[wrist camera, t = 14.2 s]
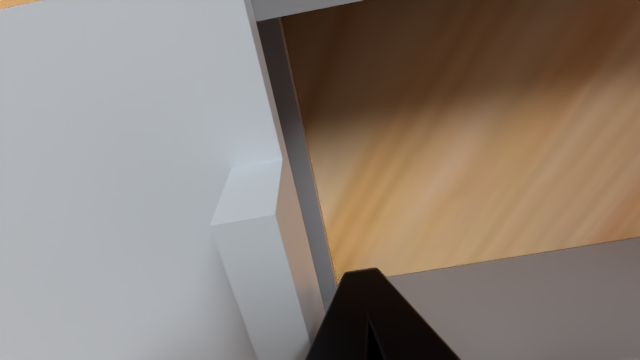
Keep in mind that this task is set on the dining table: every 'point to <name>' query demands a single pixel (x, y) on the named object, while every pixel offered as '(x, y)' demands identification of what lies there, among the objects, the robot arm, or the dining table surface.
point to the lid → (146, 188)
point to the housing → (479, 278)
